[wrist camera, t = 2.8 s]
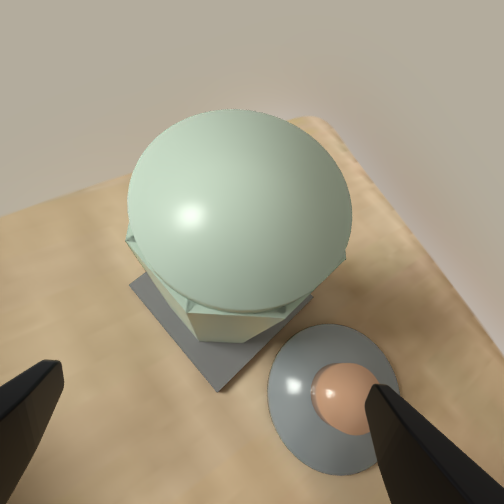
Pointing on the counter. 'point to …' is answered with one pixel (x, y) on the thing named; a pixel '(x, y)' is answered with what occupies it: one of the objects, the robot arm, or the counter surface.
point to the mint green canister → (237, 220)
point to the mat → (200, 352)
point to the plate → (300, 405)
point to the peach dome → (343, 396)
